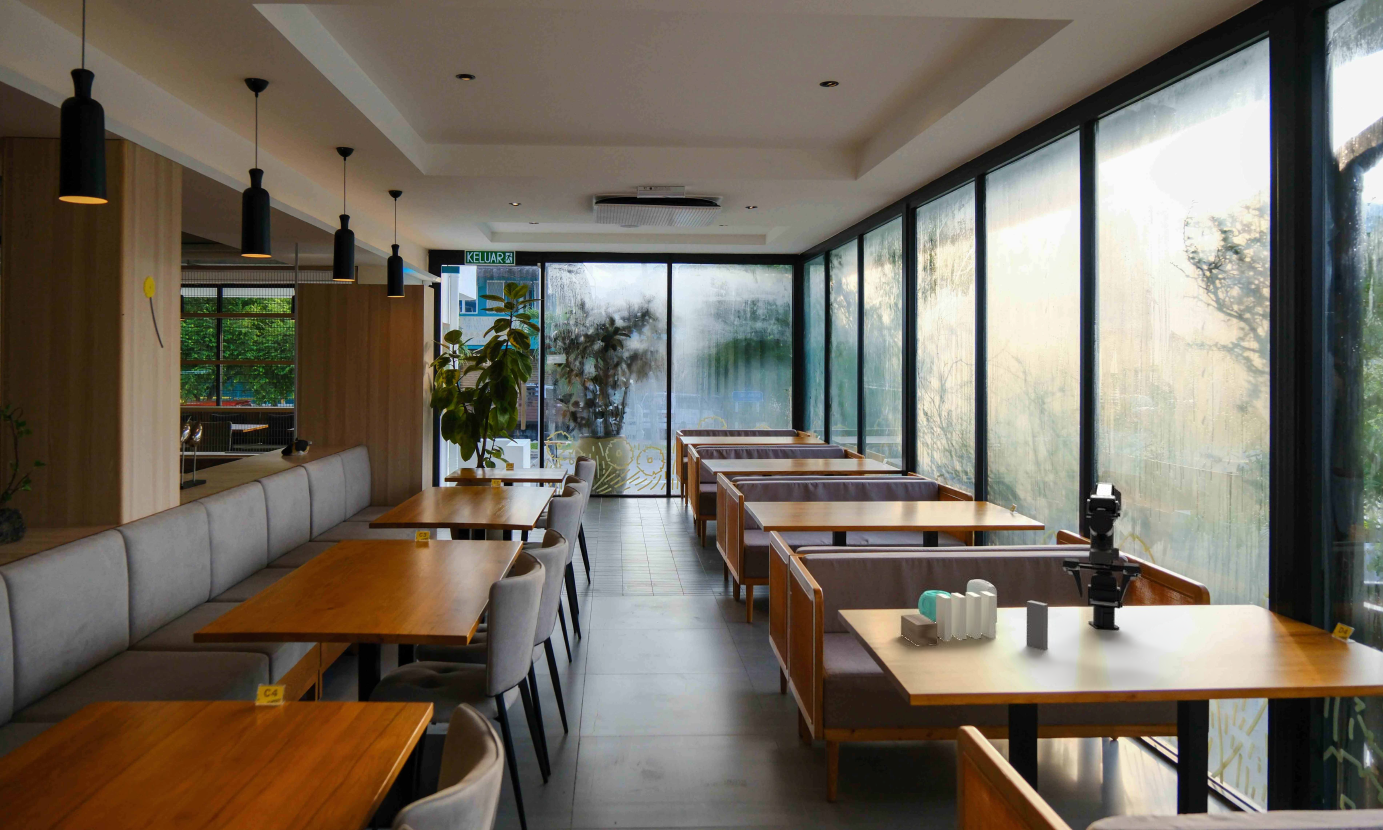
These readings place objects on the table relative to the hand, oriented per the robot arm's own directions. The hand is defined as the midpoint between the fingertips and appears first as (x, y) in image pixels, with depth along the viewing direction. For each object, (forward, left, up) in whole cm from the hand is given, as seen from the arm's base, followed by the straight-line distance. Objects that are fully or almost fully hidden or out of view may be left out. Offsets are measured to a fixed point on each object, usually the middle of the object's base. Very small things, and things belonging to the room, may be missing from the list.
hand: (1100, 599), depth 222 cm
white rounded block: (-28, -23, -14) cm, 39 cm away
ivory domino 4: (-13, -26, -14) cm, 32 cm away
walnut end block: (-8, -46, -14) cm, 49 cm away
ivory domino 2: (-11, -34, -14) cm, 39 cm away
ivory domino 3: (-12, -30, -14) cm, 35 cm away
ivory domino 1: (-10, -39, -14) cm, 42 cm away
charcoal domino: (-3, -15, -14) cm, 21 cm away
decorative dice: (-29, -36, -14) cm, 49 cm away
